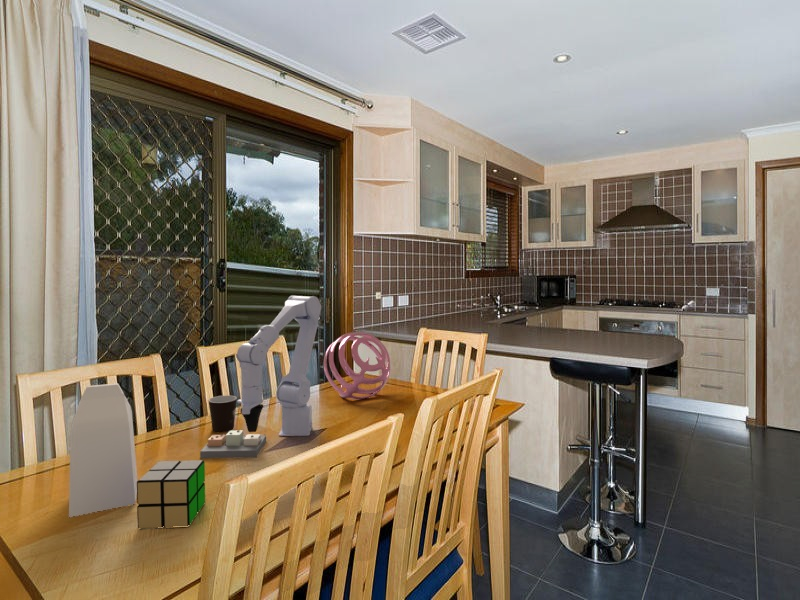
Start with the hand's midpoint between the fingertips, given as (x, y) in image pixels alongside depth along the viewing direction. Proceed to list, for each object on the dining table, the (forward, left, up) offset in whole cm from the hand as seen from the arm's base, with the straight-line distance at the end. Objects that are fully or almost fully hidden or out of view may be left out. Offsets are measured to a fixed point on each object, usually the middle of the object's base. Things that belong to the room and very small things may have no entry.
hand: (252, 431), depth 133 cm
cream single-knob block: (0, 0, -5) cm, 5 cm away
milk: (+26, +28, -6) cm, 38 cm away
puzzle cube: (+8, +36, -6) cm, 37 cm away
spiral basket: (-29, -55, -6) cm, 63 cm away
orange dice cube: (+10, 0, -5) cm, 11 cm away
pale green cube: (+5, 0, -4) cm, 6 cm away
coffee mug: (+13, -19, -6) cm, 24 cm away
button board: (+5, 0, -5) cm, 7 cm away
